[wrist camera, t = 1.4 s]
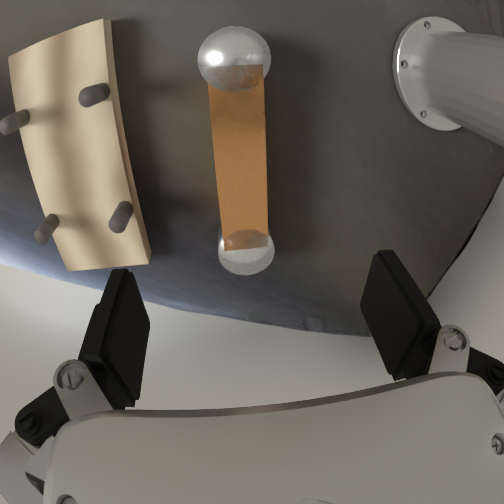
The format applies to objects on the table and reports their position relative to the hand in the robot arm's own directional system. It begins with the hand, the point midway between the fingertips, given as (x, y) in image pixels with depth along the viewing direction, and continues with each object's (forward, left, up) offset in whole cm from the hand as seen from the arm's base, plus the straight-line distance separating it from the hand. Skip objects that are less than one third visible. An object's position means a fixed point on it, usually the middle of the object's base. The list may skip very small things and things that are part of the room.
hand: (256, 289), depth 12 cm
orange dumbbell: (0, 0, -18) cm, 18 cm away
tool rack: (+15, -2, -18) cm, 23 cm away
